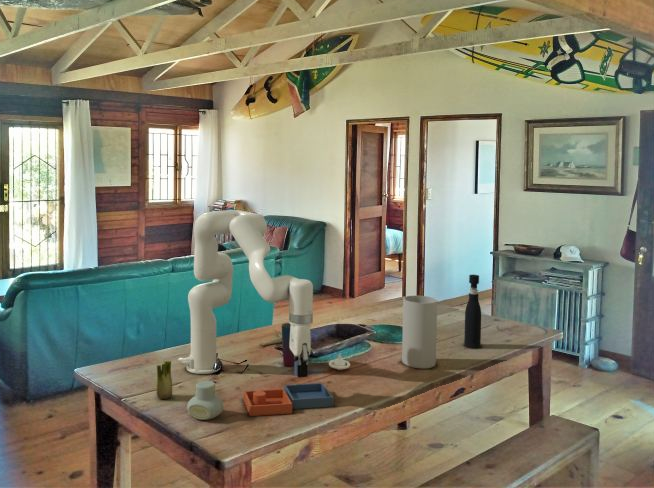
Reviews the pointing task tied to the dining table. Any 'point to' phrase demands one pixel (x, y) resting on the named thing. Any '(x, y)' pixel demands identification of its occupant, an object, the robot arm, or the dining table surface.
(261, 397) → the orange toy mallet
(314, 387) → the slate bin
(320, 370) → the blue handled cylinder
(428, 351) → the cylinder vase
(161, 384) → the fennel bulb
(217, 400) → the air freshener
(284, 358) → the cup
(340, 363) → the ring around a ball
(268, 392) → the terracotta bin
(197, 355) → the robot arm
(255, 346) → the dining table surface
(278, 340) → the jawbone
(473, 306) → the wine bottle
